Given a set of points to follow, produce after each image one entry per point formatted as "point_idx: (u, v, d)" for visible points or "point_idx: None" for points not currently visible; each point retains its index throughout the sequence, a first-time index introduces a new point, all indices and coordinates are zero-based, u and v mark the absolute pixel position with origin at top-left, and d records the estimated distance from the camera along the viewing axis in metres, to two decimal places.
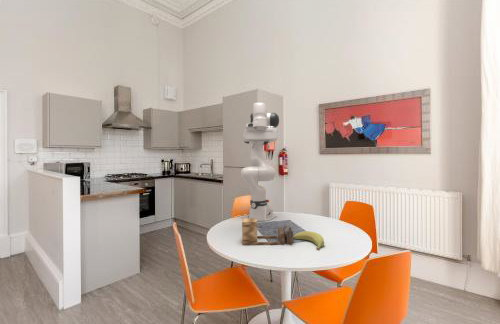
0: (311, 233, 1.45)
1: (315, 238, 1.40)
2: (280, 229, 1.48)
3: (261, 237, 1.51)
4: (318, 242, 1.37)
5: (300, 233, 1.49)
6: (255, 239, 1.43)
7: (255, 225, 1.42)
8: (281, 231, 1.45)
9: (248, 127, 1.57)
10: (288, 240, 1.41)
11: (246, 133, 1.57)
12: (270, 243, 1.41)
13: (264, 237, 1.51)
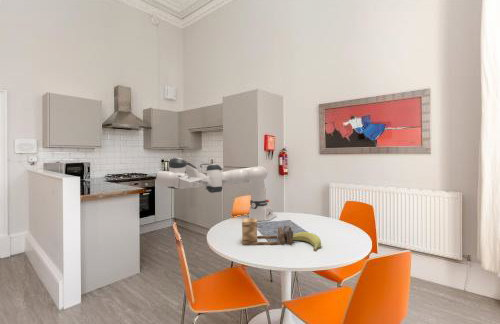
0: (308, 234, 1.43)
1: (312, 239, 1.39)
2: (280, 229, 1.48)
3: (261, 237, 1.51)
4: (315, 243, 1.35)
5: (296, 234, 1.48)
6: (255, 239, 1.43)
7: (255, 225, 1.42)
8: (281, 231, 1.45)
9: (180, 177, 1.44)
10: (288, 240, 1.41)
11: (185, 179, 1.42)
12: (270, 243, 1.41)
13: (264, 237, 1.51)
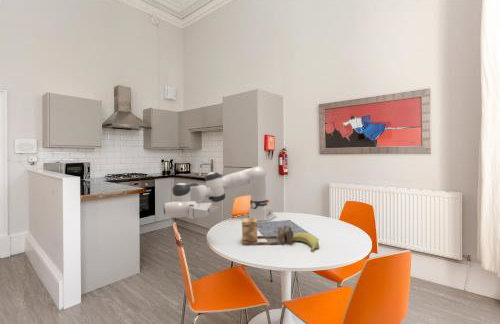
0: (306, 234, 1.42)
1: (309, 240, 1.38)
2: (280, 229, 1.48)
3: (261, 237, 1.51)
4: (312, 244, 1.34)
5: (294, 235, 1.47)
6: (255, 239, 1.43)
7: (255, 225, 1.42)
8: (281, 231, 1.45)
9: (193, 206, 1.38)
10: (288, 240, 1.41)
11: (199, 208, 1.37)
12: (270, 243, 1.41)
13: (264, 237, 1.51)
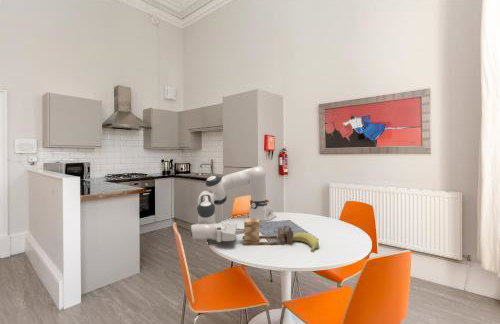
0: (306, 234, 1.42)
1: (310, 240, 1.38)
2: (280, 229, 1.48)
3: (261, 237, 1.51)
4: (313, 244, 1.34)
5: (294, 235, 1.47)
6: (257, 239, 1.43)
7: (257, 225, 1.42)
8: (281, 231, 1.45)
9: (221, 230, 1.39)
10: (288, 240, 1.41)
11: (227, 232, 1.38)
12: (270, 243, 1.41)
13: (264, 237, 1.51)
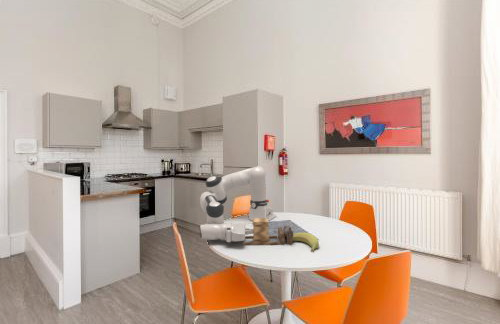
0: (306, 234, 1.42)
1: (310, 240, 1.38)
2: (280, 229, 1.48)
3: None
4: (313, 244, 1.34)
5: (294, 235, 1.47)
6: (266, 239, 1.43)
7: (267, 225, 1.42)
8: (281, 231, 1.45)
9: (231, 230, 1.39)
10: (288, 240, 1.41)
11: (237, 232, 1.37)
12: (270, 243, 1.41)
13: None
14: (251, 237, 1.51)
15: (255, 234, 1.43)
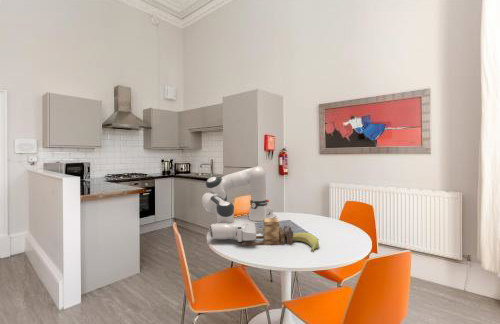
0: (306, 234, 1.42)
1: (310, 240, 1.38)
2: (280, 229, 1.48)
3: (261, 237, 1.51)
4: (313, 244, 1.34)
5: (294, 235, 1.47)
6: (277, 239, 1.43)
7: (277, 225, 1.42)
8: (281, 231, 1.45)
9: (242, 229, 1.39)
10: (288, 240, 1.41)
11: (248, 231, 1.38)
12: (270, 243, 1.41)
13: None
14: None
15: (266, 234, 1.43)
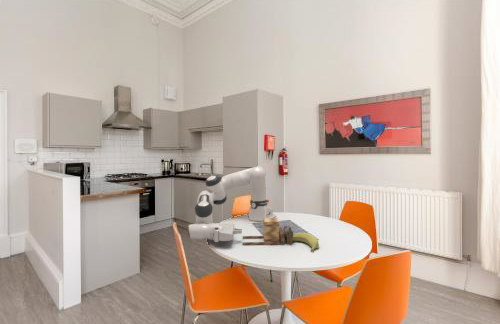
0: (305, 234, 1.42)
1: (309, 240, 1.37)
2: (280, 229, 1.48)
3: (261, 237, 1.51)
4: (312, 244, 1.34)
5: (294, 235, 1.46)
6: (277, 239, 1.43)
7: (277, 225, 1.42)
8: (281, 231, 1.45)
9: (218, 229, 1.39)
10: (288, 240, 1.41)
11: (225, 232, 1.38)
12: (270, 243, 1.41)
13: None
14: (251, 237, 1.51)
15: (266, 234, 1.43)
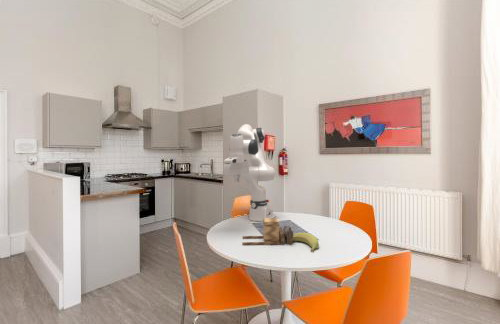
0: (305, 234, 1.42)
1: (309, 240, 1.37)
2: (280, 229, 1.48)
3: (261, 237, 1.51)
4: (312, 244, 1.34)
5: (294, 235, 1.46)
6: (277, 239, 1.43)
7: (277, 225, 1.42)
8: (281, 231, 1.45)
9: (232, 163, 1.57)
10: (288, 240, 1.41)
11: (230, 169, 1.57)
12: (270, 243, 1.41)
13: None
14: (251, 237, 1.51)
15: (266, 234, 1.43)
